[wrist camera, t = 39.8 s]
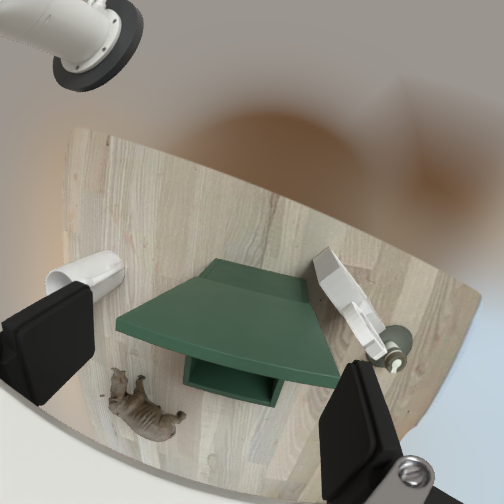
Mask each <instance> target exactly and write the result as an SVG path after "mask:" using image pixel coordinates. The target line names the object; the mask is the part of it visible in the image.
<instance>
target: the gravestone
mask: <svg viewBox="0 0 504 504" xmlns="http://www.w3.org/2000/svg"><path fill="white" fill-rule="evenodd" d="M313 263H314V267H315V271H316V274H317V278H318V282H319V284H320V286H321V287H322V289H323V290H324V292H325V293H326V295H327V296H328V297H329V299H330V300H331V302H332V303H333V304H334V306H335V307H336V308H337V310H338V311H339V312H340V313H341V315H342V316H343V317H344V319H345V320H346V321H347V323H348V324H349V326H350V328H351V329H352V331H353V333H354V334H355V336H356V337H357V339H358V340H359V342H360V343H361V344H362V346H363V347H364V349H365V351H366V352H367V353H368V354H369V356H370V357H371V358H373V359H374V360H378V359H379V358H381V357H382V356H383V355H385V354H386V353H387V350H386V347H385V345H384V344H383V342H382V340H381V338H380V337H379V335H378V334H380V333H381V332H382V331H384V330H385V329H386V327H385V326H384V324H383V322H382V321H381V319H380V317H379V315H378V314H377V312H376V310H375V309H374V307H373V305H372V304H371V302H370V300H369V299H368V297H367V296H366V294H365V293H364V292H363V290H362V289H361V288H360V286H359V285H358V284H357V282H356V281H355V280H354V278H353V277H352V276H351V274H350V273H349V272H348V271H347V269H346V268H345V267H344V265H343V264H342V263H341V262H340V260H339V259H338V258H337V256H336V255H335V254H334V253H333V251H332V250H331V249H330V248H329V247H328V248H326V249H325V250H324V251H323V252H321V253H320V254H319V255H318V256H316V257H315V258H314V259H313Z"/></svg>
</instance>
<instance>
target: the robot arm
mask: <svg viewBox="0 0 504 504" xmlns="http://www.w3.org/2000/svg"><path fill="white" fill-rule="evenodd" d="M95 1H96V0H89V1H88V3H85V2H84V1H82V0H0V37H3V38H6V39H10V40H13V41H16V42H19V43H22V44H25V45H27V46H30V47H33V48H36V49H39V50H41V51H44V52H46V53H49V54H52V55H54V56H57V57H59V58H61V63H62V65H63V67H64V68H65V69H66V70H67V71H69V72H71V73H83V72H86V71H88V70H90V69H92V68H93V67H95V66H96V65H98V64H99V63H100V62H101V61H102V60H103V59H104V58H105V57H106V56H107V55H108V54H109V53H110V51H111V50H112V49H113V47H114V46H115V44H116V42H117V40H118V38H119V35H120V32H121V25H122V24H121V19H120V17H119V15H118V14H117V13H116V12H114V11H113V10H110V9H105V8H106V4H105V3H106V1H107V0H97V1H96V2H95ZM1 324H2V328H3V331H2V332H0V504H321V503H308V502H298V501H289V500H282V499H275V498H268V497H262V496H256V495H251V494H245V493H240V492H236V491H231V490H227V489H223V488H218V487H215V486H211V485H207V484H203V483H200V482H196V481H193V480H190V479H186V478H183V477H180V476H177V475H174V474H171V473H168V472H165V471H163V470H160V469H157V468H155V467H152V466H149V465H147V464H144V463H142V462H139V461H137V460H135V459H132V458H130V457H128V456H125V455H123V454H121V453H119V452H117V451H114V450H112V449H110V448H108V447H106V446H104V445H102V444H100V443H98V442H96V441H94V440H92V439H90V438H88V437H87V436H85V435H83V434H81V433H80V432H78V431H76V430H74V429H72V428H71V427H69V426H67V425H66V424H64V423H62V422H61V421H59V420H57V419H56V418H54V417H53V416H51V415H49V414H48V413H46V412H45V411H43V410H42V409H40V408H39V407H38V406H39V405H41V406H42V405H44V404H45V403H46V402H47V401H48V400H49V399H50V398H51V397H52V396H53V395H54V394H55V393H56V392H57V391H58V390H59V389H60V388H61V387H62V386H63V385H64V384H65V383H66V382H67V381H68V380H69V379H70V378H71V377H72V376H73V375H74V374H75V373H76V372H77V371H78V370H79V369H80V368H81V367H82V366H83V365H84V364H85V363H86V362H87V361H88V360H89V359H91V358H92V356H93V355H94V352H95V341H94V321H93V292H92V291H91V290H90V287H89V285H87V284H84V283H82V282H79V281H73V282H71V283H70V284H68V285H66V286H64V287H62V288H60V289H59V290H57V291H55V292H53V293H51V294H50V295H48V296H46V297H44V298H42V299H41V300H39V301H37V302H35V303H34V304H32V305H30V306H28V307H27V308H25V309H23V310H22V311H20V312H18V313H16V314H15V315H13V316H11V317H10V318H8V319H6V320H5V321H3V322H2V323H1ZM319 439H320V457H321V481H322V499H323V500H327V504H463V503H462V502H460V501H458V500H456V499H455V498H453V497H451V496H449V495H448V494H446V493H444V492H443V491H441V490H440V489H438V488H436V487H434V486H433V484H434V480H435V475H434V471H433V468H432V467H431V465H430V464H429V463H428V462H427V461H425V460H424V459H422V458H420V457H418V456H413V455H408V456H403V453H402V449H401V446H400V443H399V440H398V437H397V434H396V430H395V427H394V424H393V421H392V418H391V415H390V413H389V410H388V407H387V404H386V402H385V399H384V396H383V394H382V391H381V388H380V385H379V383H378V380H377V377H376V374H375V372H374V369H373V366H372V364H371V363H370V362H366V361H360V360H354V361H353V362H352V363H348V364H347V365H346V367H345V369H344V372H343V374H342V376H341V378H340V380H339V382H338V384H337V386H336V388H335V390H334V392H333V394H332V396H331V398H330V400H329V401H328V403H327V405H326V407H325V409H324V411H323V413H322V414H321V417H320V419H319Z"/></svg>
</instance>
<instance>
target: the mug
mask: <svg viewBox="0 0 504 504" xmlns="http://www.w3.org/2000/svg"><path fill="white" fill-rule="evenodd" d="M124 268H125V266H124V263H123V262H122V261H121V259H120V258H119V257H118V256H117V255H116V254H115V253H114V252H112V251H109V250H103V251H100V252H97V253H94V254H92V255H89V256H86V257H84V258H81V259H79V260H76V261H74V262H71V263H69V264H66V265H63V266H61V267H59V268H56V269H54V270H52V271H50V272H49V274H48V275H47V277H46V281H45V289H46V294H47V296H48V295H50V294H51V293H53V292H55V291H57V290H59V289H60V288H62V287H64V286H66V285H68V284H70V283H71V282H73V281H79V282H82V283H84V284H87V285H89V287H90V290H91V291H92V292H93V304H94V303H96V302H97V301H98V300H100V299H101V298H103V297H104V296H105V295H107V294H108V293H110V292H111V291H112V290H113V289H115V288H116V287H118V286H119V285H120V284H121V283H122V281H123V279H124V274H125V272H124Z"/></svg>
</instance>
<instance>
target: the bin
mask: <svg viewBox="0 0 504 504" xmlns="http://www.w3.org/2000/svg"><path fill="white" fill-rule="evenodd" d="M198 277H200V278H204V279H208V280H212V281H215V282H219V283H223V284H227V285H231V286H235V287H239V288H243V289H247V290H251V291H256V292H260V293H264V294H268V295H272V296H276V297H281V298H285V299H289V300H294V301H298V302H302V303H307V304H309V299H308V291H307V284H306V280H305V279H300V278H296V277H292V276H288V275H283V274H279V273H275V272H271V271H267V270H262V269H258V268H254V267H250V266H246V265H242V264H237V263H233V262H229V261H225V260H221V259H217V258H216V259H215V260H214V261H213V262H212V263H211V264H210V265H209V266H208V267H207V268H206V269H205V270H204V271H203V272H202V273H201V274H200V275H199V276H198ZM284 381H285V380H282V379H277V378H272V377H268V376H263V375H259V374H254V373H250V372H246V371H242V370H238V369H234V368H230V367H226V366H223V365H219V364H215V363H212V362H208V361H205V360H201V359H198V358H194V357H191V356H188V355H186V358H185V367H184V376H183V384H184V385H187V386H191V387H194V388H197V389H201V390H204V391H208V392H211V393H215V394H218V395H222V396H226V397H230V398H233V399H238V400H242V401H246V402H250V403H254V404H259V405H264V406H269V407H273V408H274V407H275V405H276V403H277V400H278V397H279V395H280V392H281V389H282V386H283V384H284Z"/></svg>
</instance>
